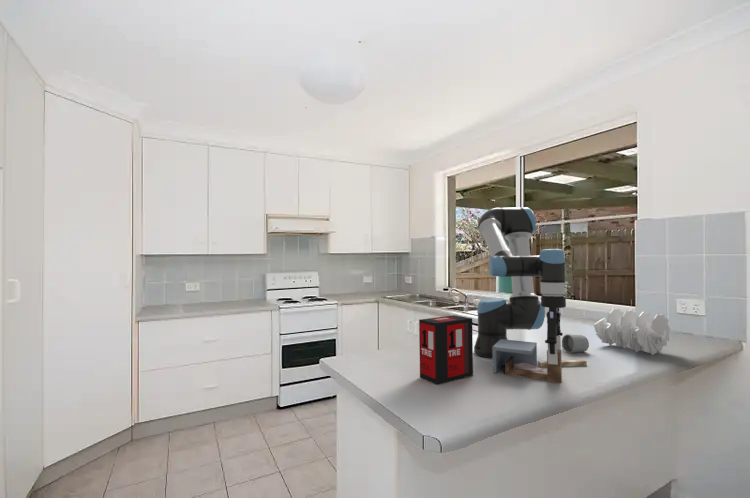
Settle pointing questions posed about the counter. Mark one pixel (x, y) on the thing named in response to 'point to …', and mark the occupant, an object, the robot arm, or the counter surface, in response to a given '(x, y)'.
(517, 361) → the grey storage bin
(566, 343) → the ceramic mug
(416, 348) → the counter surface
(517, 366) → the soap bar
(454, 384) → the counter surface
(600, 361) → the counter surface
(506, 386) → the counter surface
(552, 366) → the brown wooden bent piece
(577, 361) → the stick
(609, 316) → the spiral staircase
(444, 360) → the cleaning product box
